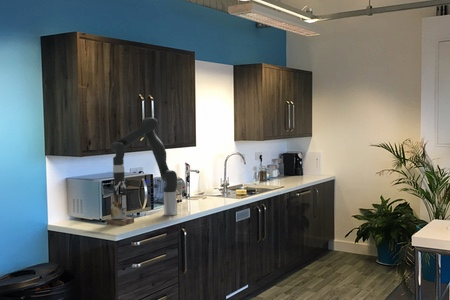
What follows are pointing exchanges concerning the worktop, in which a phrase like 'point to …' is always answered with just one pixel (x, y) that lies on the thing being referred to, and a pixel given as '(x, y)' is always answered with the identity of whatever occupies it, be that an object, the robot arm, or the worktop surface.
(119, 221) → the walnut base
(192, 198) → the worktop surface
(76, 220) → the worktop surface
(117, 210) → the coffee box
